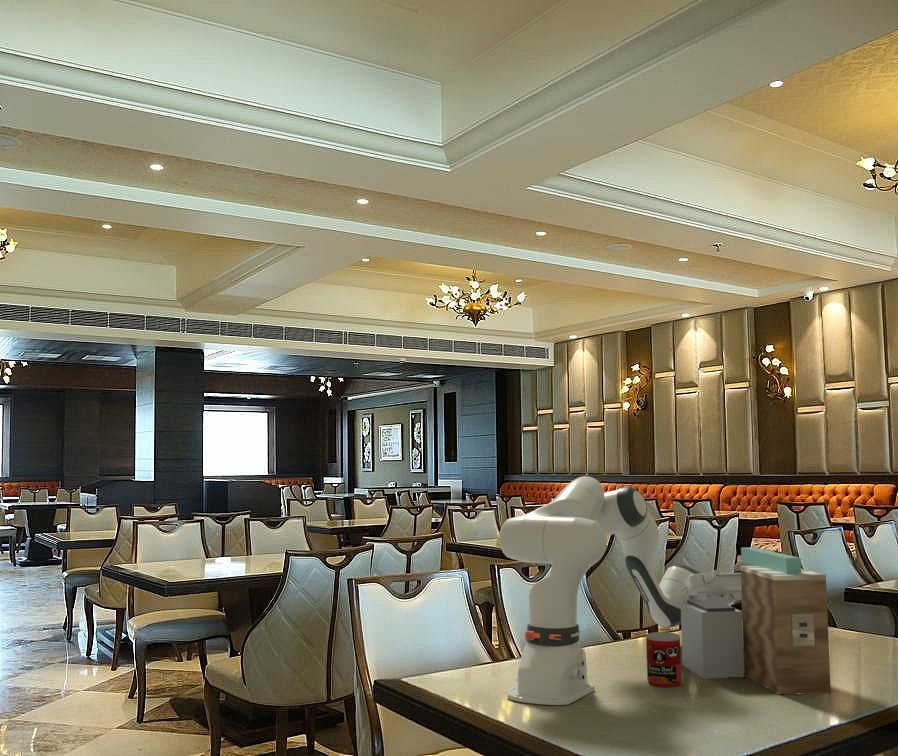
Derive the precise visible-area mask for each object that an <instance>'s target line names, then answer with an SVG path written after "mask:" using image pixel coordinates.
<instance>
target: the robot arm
mask: <svg viewBox="0 0 898 756" xmlns="http://www.w3.org/2000/svg"><path fill="white" fill-rule="evenodd" d="M612 535H615V536H616V537H617V539H618V541H619V542H620V544H621V546H622V547H621V548H622V551H623V555H624V560H625V561H624V562H625V566H626V569H627V571H628V573H629V576H630V577H631V579H632V581H633V582H634V585H635V587H636V589H637V590H638V592H639V594H640V596H641V598H642V599H643V601H644V603H645V607H646V610H647V612H648V615H649V617H650V619H651V620H652V621H653V622H654V623H655V624H656V625H658V626H659V627H662V628H665V629H670V628H671V629H672V628H675V627H677V626H679V625H681V603H687V600H707V599H714V600H716V601H719V602H721V603H724V604H726V605H729V606H732V605H736V604H742V592H741V572H723V573H722V572H720V573H719V569H712V570H711V571H710V572H708V573H700V572H698V571H697V570H696V569H694V568H692V567H690V566H688V565H684V564H675V565H671V566H669V567H668V568H667V569H666V570H665V573H664V575H663V576H662V578H661V580H660V582H658V581H657V579H656V577H655V574H654V560H655V557H656V554H657V553H656V552H657V548H658V545H659V541H660V530H659V527H658V524H657V523H656V520H655V519H654V517H653V516H652V515H651V513H650V512H649V511H648V507H647V503H646V500H645V497H644V496H643V494H642V493H641V491H640V490H638V489H636V488H634V487H632V486H623V487H619V488H618V489H614V490H610V491H606V492H605V490H604V487H603V485H602V484H601V482H600V481H599V480H598V479H596V478H595V477H592V476H584V475H583V476H579V477H577V478H575V479H573V480H572V481H570V482H569V483H568V484H567V485H565V487H563V489H562V490H561V491H560V492H559V493H557V495H556V496H555V498H553V499H552V500H551V501H550V502H549V503H546V504H545V505H543V506H541V507H538V508H536V509H534V510H532V511H530V512H528V513H524V514H522V515H519V516H514V517H509V518H508V519H506V520H505V521H504V523H503V524H502V525H501V528H500V530H499V534H498V537H499V538H498V541H499V546H500V549H501V551H502V553H503V555H505V557H507V558H509V559H511V560H514V561H518V562H523V563H530V564H531V563H532V564H547V565H548V564H550V565H551V570H550V574H549V576H547V577H545V578H543V579H541V580H539V581H538V582H537V581H536V583H534V585H532V587H531V588H530V590H529V593H528V624H527V628H526V630H525V633H524V639H525V641H526V644H525V645H524V646H523V650H522V654H521V657H520V661H519V665H518V668H517V669H518V670H517V677H516V678H514V680H513V682H512V684H511V687H510V689H509V691H508V693H507V699H508V700H512V701H514V702H518V703H525V704H526V703H527V704H535V705H546V706H567V705H570V704H571V703H575V702H576V701H578V700H579V699H581V698H584V697H585V696H586V695H588V694H591V693H593V692H595V685H594V684H593V683H590V682H588V681H589V680H588V666H587V653H586V650H584V649H583V648H582V647H581V645H580V642H579V641H580V625H579V624H578V621H577V620H578V595H579V589H580V585H581V584H582V580H583V578H584V576H585V575H586V573H587V572H588V571H589V569H591V567H593V566H594V565H595V564H596V563H598V562H599V561H600V560H601V559H602V557H603V556H604V554H605V552H606V548H607V537H608V536H612Z"/></svg>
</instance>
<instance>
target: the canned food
mask: <svg viewBox="0 0 898 756" xmlns="http://www.w3.org/2000/svg"><path fill="white" fill-rule="evenodd" d="M645 643H646V644H645V646H646V647H645V648H646V676H647V678H646V679H647V682H648V683H649V685H652V686H655V687H660V688H673V687H679V685H680V684H681V682H682V670H681V669H682V667H681V666H682V664H681V663H682V662H681V658H682V655H681V636H680V634H678V633H673V632H668V631H654V632H653V631H652V632H649V633H647V634H646V638H645Z"/></svg>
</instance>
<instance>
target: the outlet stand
mask: <svg viewBox="0 0 898 756" xmlns="http://www.w3.org/2000/svg"><path fill="white" fill-rule="evenodd" d="M740 573H741V592H742V603H741V611H742V627H743V657H744V676H745V675H746V676H748V677H750V678H751V679H750V678H749V679H750V680H752V679H753V680H752V681H754V680H755V681H757V682H759V683H760V685H761V684H762V685H764V686H766V687H768V688H769V689H768V688H767V689H768V690H770V689H771V690H773V691H775V692H777V693H779V694H794V695H798V694H797V693H823V694H831V692H832V691H831V690H832V688H831V666H830V665H831V663H830V662H831V661H830V643H829V642H830V639H829V619H828V618H829V617H828V614H829V613H828V596H827V594H828V593H827V575H826V574H823V573H820V572H815V571H812V570H808V569H804V568H801V574H786V573H782V572H778V571H774V570H771V569H767V568H763V567H760V566H756V565H740ZM746 676H745V677H746ZM748 677H747V678H748ZM755 681H754V682H755ZM757 682H756V683H757ZM759 683H758V684H759ZM762 685H761V686H762ZM764 686H763V687H764ZM766 687H765V688H766ZM771 690H770V691H771ZM773 691H772V692H773ZM775 692H774V693H775ZM777 693H776V694H777Z"/></svg>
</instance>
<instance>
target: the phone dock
mask: <svg viewBox="0 0 898 756" xmlns="http://www.w3.org/2000/svg"><path fill="white" fill-rule="evenodd" d="M680 625H681V626H680V627H681V650H682V651H681V653H682V654H681V658H682V662H681V663H682V664H681V665H682V666H683V667H685V668H686V669H688V670H689V671H691V672H693V673H694V674H696V675H697V676H699V677H700V678H702V679H705V680H706V679H707V680H708V679H711V680H712V679H729V678H728V677H744V678H745V675H744V652H743V622H742V610H739V609H737V608H736V607H733V606H732V605H730V606H729V605H726V604H724V603H721V602H719V601H716V600H714V599H707V600H687V603H681V624H680Z"/></svg>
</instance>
